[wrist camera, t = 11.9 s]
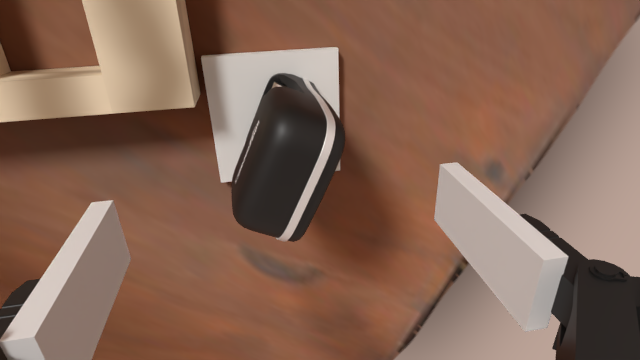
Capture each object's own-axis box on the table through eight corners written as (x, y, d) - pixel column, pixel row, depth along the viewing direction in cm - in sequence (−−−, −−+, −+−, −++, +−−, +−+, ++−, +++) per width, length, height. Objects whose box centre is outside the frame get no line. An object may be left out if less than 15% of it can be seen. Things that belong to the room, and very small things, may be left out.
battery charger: (264, 57, 27) (274, 102, 16) (317, 79, 28) (356, 134, 18) (230, 150, 29) (220, 240, 19) (279, 167, 30) (295, 259, 20)
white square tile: (221, 178, 31) (221, 182, 30) (202, 55, 27) (200, 57, 26) (338, 166, 32) (340, 170, 31) (335, 47, 28) (338, 48, 27)
